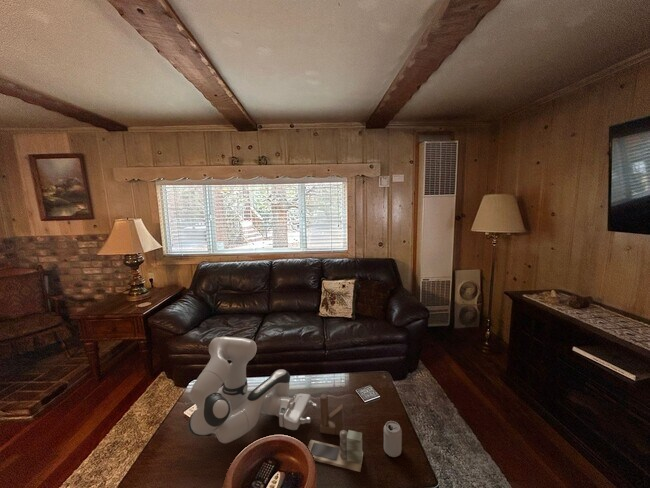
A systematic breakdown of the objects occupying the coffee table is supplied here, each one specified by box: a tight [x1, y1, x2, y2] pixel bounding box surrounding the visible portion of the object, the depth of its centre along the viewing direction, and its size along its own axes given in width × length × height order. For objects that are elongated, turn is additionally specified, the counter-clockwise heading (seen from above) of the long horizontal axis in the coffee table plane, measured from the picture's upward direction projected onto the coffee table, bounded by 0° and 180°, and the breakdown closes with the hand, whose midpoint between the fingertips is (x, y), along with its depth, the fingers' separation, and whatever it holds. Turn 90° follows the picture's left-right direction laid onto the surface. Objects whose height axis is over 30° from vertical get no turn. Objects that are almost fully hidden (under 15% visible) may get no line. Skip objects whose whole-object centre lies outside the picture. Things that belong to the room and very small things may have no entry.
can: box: [383, 420, 403, 458], centre depth 115 cm, size 8×8×12 cm
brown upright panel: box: [319, 393, 345, 436], centre depth 125 cm, size 4×11×18 cm, turn 80°
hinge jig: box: [307, 429, 364, 473], centre depth 113 cm, size 24×8×12 cm, turn 74°
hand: (313, 413), depth 128 cm, fingers open, 8 cm apart
